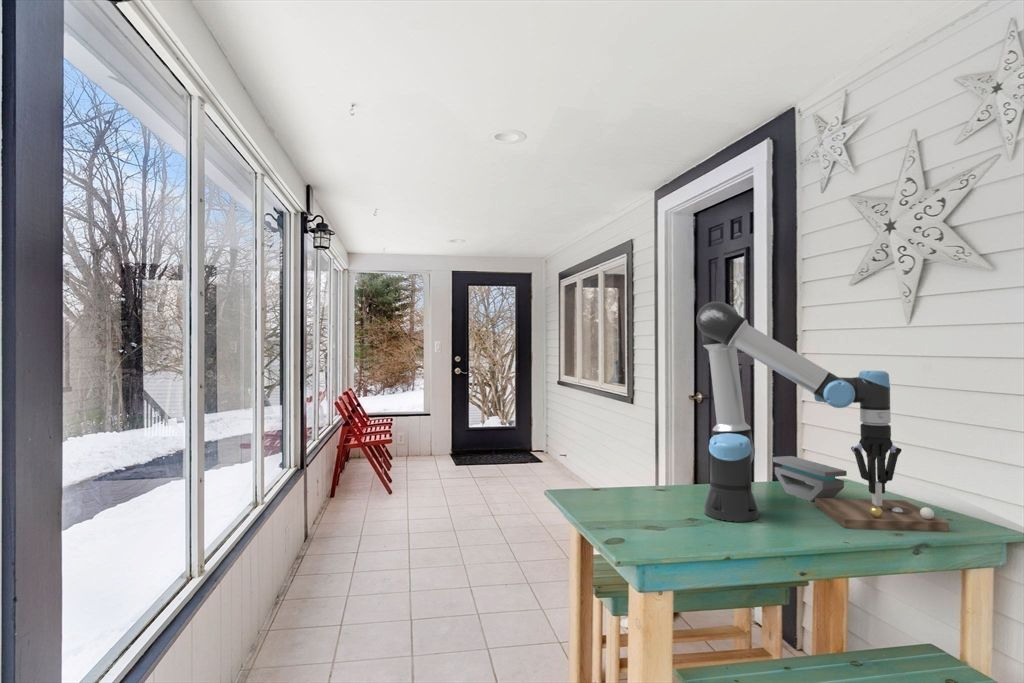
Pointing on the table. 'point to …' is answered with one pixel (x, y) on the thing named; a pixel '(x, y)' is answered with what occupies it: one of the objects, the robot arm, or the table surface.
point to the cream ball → (927, 513)
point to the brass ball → (875, 511)
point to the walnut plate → (858, 517)
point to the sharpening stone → (808, 478)
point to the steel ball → (897, 510)
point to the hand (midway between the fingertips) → (877, 504)
